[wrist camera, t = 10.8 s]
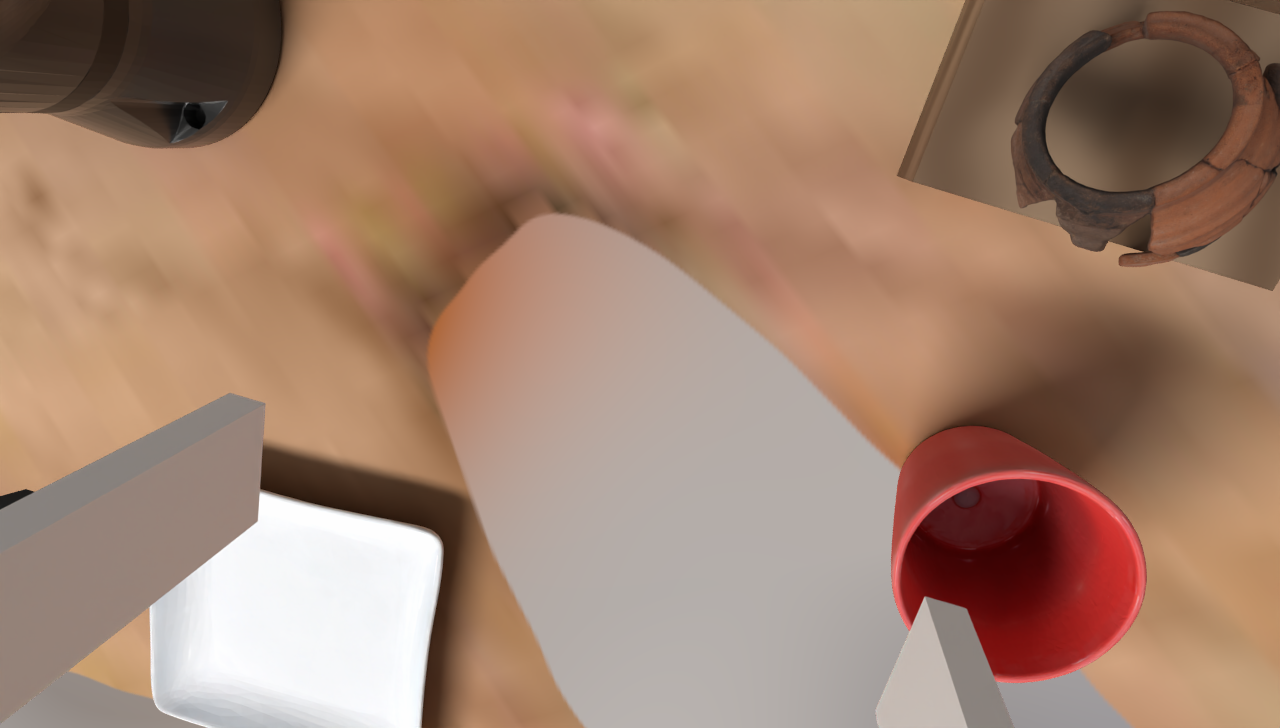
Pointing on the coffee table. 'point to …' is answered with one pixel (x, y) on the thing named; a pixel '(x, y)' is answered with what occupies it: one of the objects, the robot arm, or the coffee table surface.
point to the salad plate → (301, 624)
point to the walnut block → (1094, 114)
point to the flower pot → (1015, 552)
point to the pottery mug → (1186, 205)
